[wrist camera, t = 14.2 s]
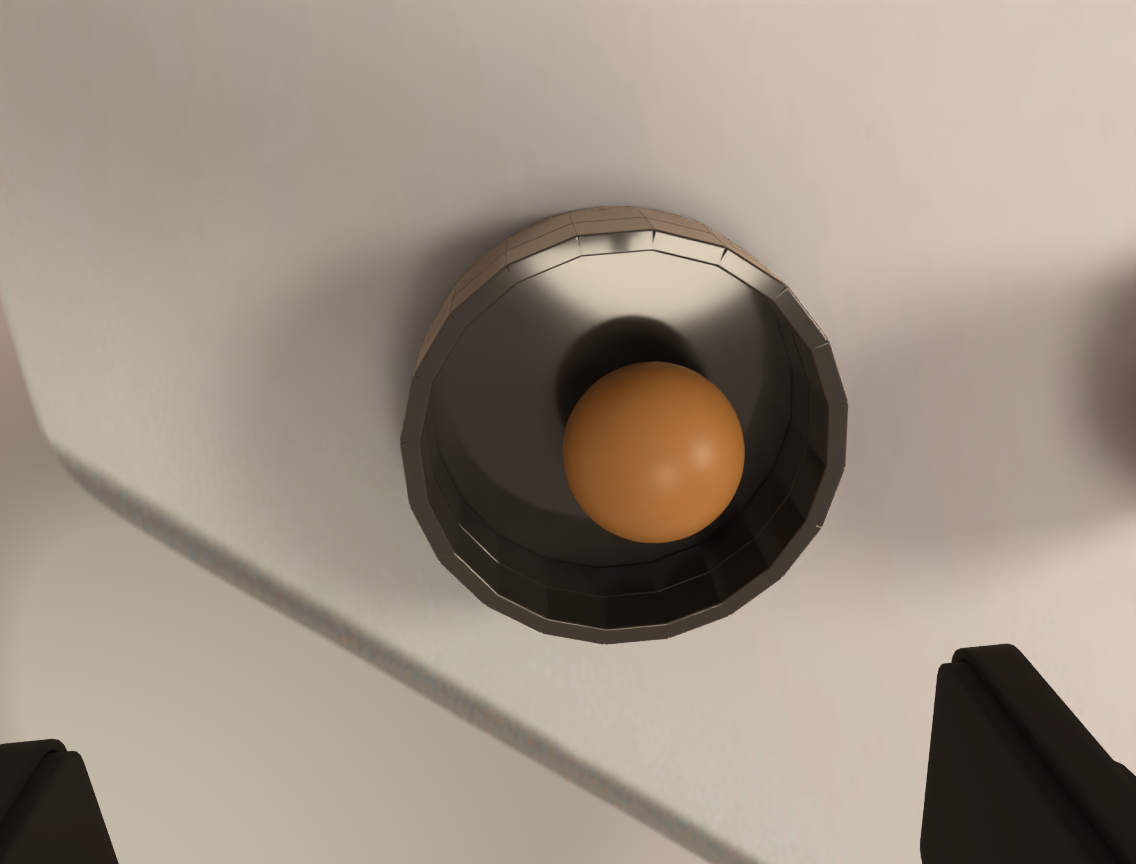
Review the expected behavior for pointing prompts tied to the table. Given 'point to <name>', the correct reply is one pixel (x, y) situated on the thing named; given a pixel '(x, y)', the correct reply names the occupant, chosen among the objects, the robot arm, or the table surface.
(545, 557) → the bowl
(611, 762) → the table surface
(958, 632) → the table surface
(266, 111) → the table surface
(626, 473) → the orange ball
